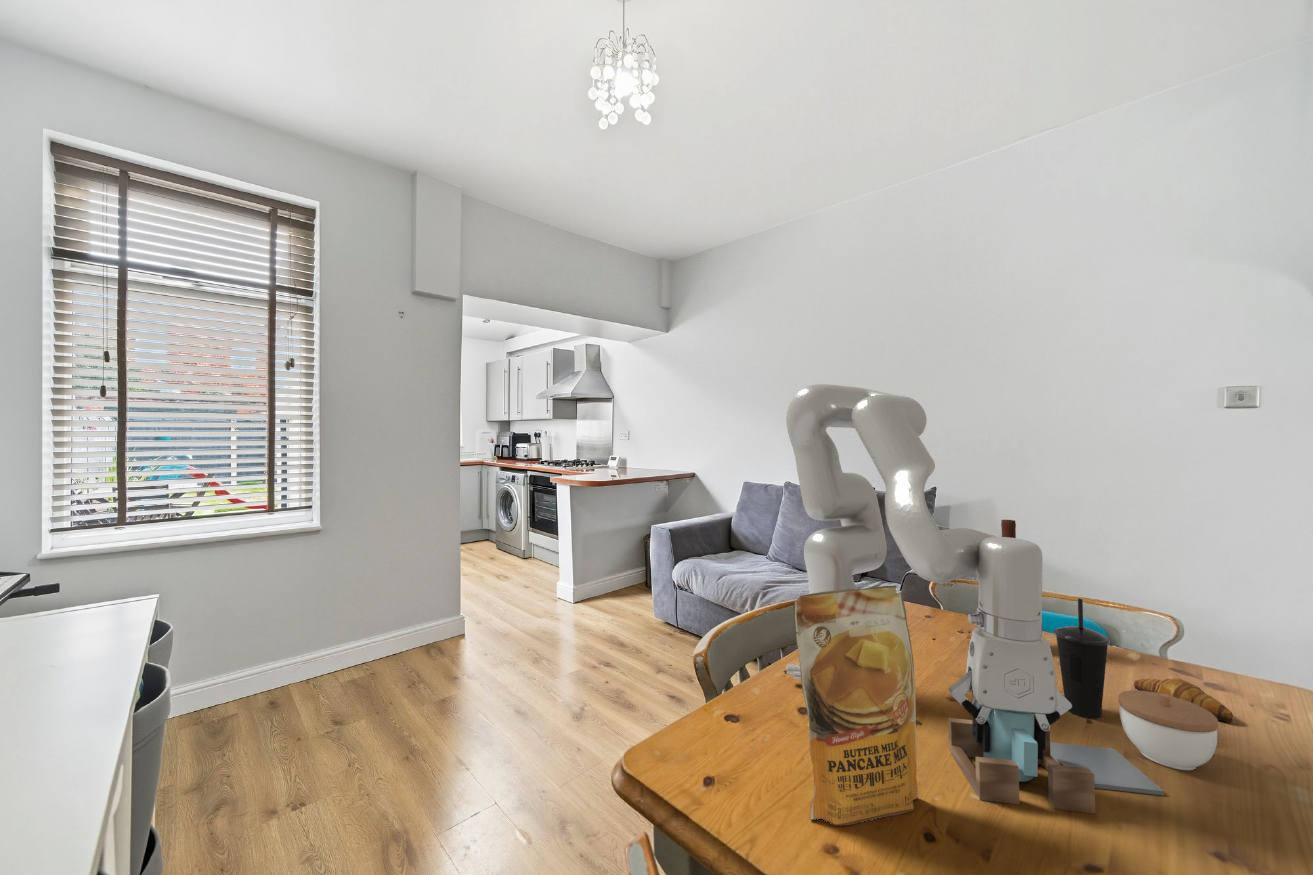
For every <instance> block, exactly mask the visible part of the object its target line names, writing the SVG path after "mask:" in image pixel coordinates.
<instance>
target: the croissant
mask: <svg viewBox="0 0 1313 875" xmlns="http://www.w3.org/2000/svg"><path fill="white" fill-rule="evenodd" d="M1133 687H1134V690H1137V691H1148V692H1154V693H1160V694H1165V695H1168V696H1172V697H1176V698H1179V699H1182V700H1185V701H1188V702H1191V703H1193V704H1195V705H1198V706H1200V707H1202V708H1204V709H1206V710H1208V711H1209V712H1211V713H1212V714H1213V715H1214V716H1215V717H1216V718H1217V719H1218V721H1224V722H1229V723H1231V722H1232V721H1233V718H1234V714H1233V712H1232V711H1231V710H1230V709H1229V708H1228V707H1226V706H1225V705H1224V704H1223V703H1221V702H1220V701H1218V700H1217V699H1215V698H1214V697H1212V696H1211V695H1209V694H1208V693H1206V692H1205V691H1204V690H1202V689H1201V688H1200V687H1199V686H1198V685H1195V684H1193V683H1191V682H1189V681H1187V680H1184V679H1182V678H1164V679H1158V678H1140V679H1136V680H1134V683H1133Z"/></svg>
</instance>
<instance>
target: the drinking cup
mask: <svg viewBox="0 0 1313 875" xmlns="http://www.w3.org/2000/svg"><path fill="white" fill-rule="evenodd" d="M1083 601H1084V600H1083V599H1082V598H1077V622H1078V626H1076V625H1070V626H1063V627H1057V628H1055V629H1054V630H1053V633H1054V635H1055V636H1056V643H1057V651H1058V652H1057V653H1058V659H1059V666H1060V674H1061V681H1062V689H1063V696H1064V697H1065V698H1066V699H1067V700H1068V701H1069V702H1070V703H1071V704H1072V708H1071V709H1069V710H1068V711H1067V712H1069V713H1071V714H1072V715H1074V716H1075V715H1076V716H1078V717H1081V718H1084V719H1090V720H1098V719H1101V717H1102V709H1103V698H1104V690H1105V688H1104V686H1105V676H1106V664H1107V655H1108V647H1109V646H1108V645H1110V642H1111V640H1110V638H1109V637H1107V636H1106V635H1103V634H1101V633H1100V632H1098V631H1096V630H1093V629H1090V628H1088V627H1084V607H1083V605H1084V604H1083V603H1084V602H1083Z"/></svg>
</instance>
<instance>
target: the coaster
mask: <svg viewBox="0 0 1313 875" xmlns="http://www.w3.org/2000/svg"><path fill="white" fill-rule="evenodd" d="M1050 755H1051V756H1052V757H1053V758H1054V759H1055V760H1056V761H1057V763H1058V764H1059V765H1060V766H1070V767H1080V768H1088V769H1089V770H1090V771H1092V772H1093V773H1094V783H1095V789H1103V790H1110V791H1119V792H1120V791H1121V792H1129V793H1137V794H1145V795H1146V794H1147V795H1156V796H1163V797H1165V790H1163V789H1162V788H1161V786H1159V785H1158V784H1156V783H1155V782H1154V781H1153V780H1151V779H1150V778H1149V777H1148V776H1147V775H1146V774H1145V773H1143V772H1142V771H1141V770H1140V769H1138V767H1136V766H1135V765H1134V764H1133V763H1131V762H1130V761H1129V760H1128V759H1127V758H1125V757H1124V756H1123V755H1122V754H1121V753H1120V752H1118V751H1117V750H1116V749H1115V748H1111V747H1103V746H1093V745H1092V746H1089V745H1081V744H1070V743H1069V744H1068V743H1061V742H1051V741H1050Z"/></svg>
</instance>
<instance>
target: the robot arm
mask: <svg viewBox="0 0 1313 875" xmlns="http://www.w3.org/2000/svg"><path fill="white" fill-rule="evenodd" d="M785 417H786V420H785V422H786V428H787V433H788V438H789V441H790V444H791V447H792V450H793V454H794V458H795V465H796V472H797V477H798V482H799V483H798V484H799V488H800V489H799V490H800V494H801V499H802V505H803V508H804V511H805V512H806V514H807V515H808V517H810V518H811V519H813V520H816V521H820V522H821V521H823V522H824V521H826V522H827V521H838V520H839V521H840V524H841V526H833V527H831V526H830V527H826V528H822V529H819V530H816V531H814V532H813V533H812V534H810V535H809V536H808V538H807V539H806V541H805V543H804V546H803V558H804V563H805V564H804V565H805V569H806V573H807V580H808V591H809V594H813V593H819V592H828V591H835V590H843V589H858V588H857V585H856V583H855V581H854V577H853V575H854V576H855V575H858V574H862V573H866V572H871V571H875V570H877V569H879V568H880V567H881V566H883V564H884V563H885V560H886V557H887V554H888V553H887V552H888V551H887V541H886V533H885V529H884V524H883V520H882V515H881V508H880V505H879V500H878V496H877V492H876V490H875V489H874V486H873V485H872V483H871V482H870V481H869V480H868V479H867V478H866V477H865V476H863V475H861V474H858V473H855V472H843V470H842V465H841V462H840V456H839V452H838V449H837V446H836V444H835V442H834V441H833V439H832V438H831V436H830V435H829V433H828V432H827V428H846V429H847V428H849V429H855V432H856V433H857V435H858V437H859V438H860V440H861V442H862V444H863V446H864V448H865V449H866V451H867V453H868V455H869V457H870V458H871V460H872V462H873V464H874V465H875V468H876V469H877V471H878V473H879V475H880V476H881V479H882V480H883V482H884V483H883V484H884V485H885V492H884V493H885V494H884V508H885V517H886V519H885V520H886V523H887V527H888V529H889V532H890V535H891V536H892V537H893V540H894V542H895V544H896V546H897V548H898V549H899V551H900V553H901V555H902V557H903V558H904V560H905V562H906V563H907V565H909V567H910V568H911V570H912V571H913V572H914V573H915V574H916V575H917V576H918V577H920V578H922V579H923V580H926V581H928V582H930V583H937V584H939V583H940V584H941V583H946V582H952V581H955V580H959V579H969V578H974V577H975V578H976V577H978V597H977V598H978V602H977V603H978V605H977V606H978V607H976V612H975V613H968V615H967V621H968V623H969V624H974V625H975V626H977V627H973V630H972V633H971V636H970V641H969V645H968V650H967V651H968V652H967V660H966V670H965V671H966V672H965V674H963V676H961V677H960V678H959V679H958V680H957V681H955V682H954V683H953V684H952V685H951V686H949V688H948V690H947V691H948V692H949V693H950V695H951V696H952V697H953V699H955V701H957V703H959V704H960V705H961V706H962V707H963V708H964V709H965V711H966V712H967V713H968V714H969V715H970V716H971V717H972V719H971V720H972V735H973V739H974V741H975V742H977V744H978V745H979V746H980V748H981V749H982V751H983V752H986V753H988V752H990V726H989V725H988V723H987V722H986V720H987V718H988V715H989V713H990V711H991V709H996V710H1005V711H1014V712H1024V713H1033V714H1034V740H1035V741H1036V742H1037V743H1038V759H1043V750H1045V731H1048V730H1049V731H1050V730H1051V725H1053V724H1054V723H1055V722H1056V721H1058V720H1059V719H1060V717H1061V716H1062V715H1064V714H1065V713H1067V712H1069V711H1068V710H1069V709H1071V708H1072V704H1071V703H1070V702H1069V701H1068V700H1067V699H1066V698H1065V697H1064V694H1062V693H1061V692H1060V690H1058V689H1057V679H1056V678H1057V677H1056V670H1055V665H1054V659H1053V654H1052V649H1051V648H1052V647H1051V645H1050V641H1049V640H1048V639H1046V638H1045V637H1044V636H1043V635H1042V634H1043V632H1042V630H1043V627H1042V626H1043V551H1042V549H1041V548H1040V546H1039V545H1038V544H1037V543H1035V542H1033V541H1030V540H1027V539H1023V538H1018V537H1016V538H1009V537H1002V536H997V535H992V534H989V533H986V532H983V531H980V530H976V529H973V528H966V527H957V528H949V529H948V528H947V529H940V528H939V525H937V523H936V521H935V519H934V517H933V516H932V514H931V512H930V510H929V508H928V504H927V502H926V499H925V498H926V497H925V487H926V483H927V481H928V480H929V478H930V476H931V475H932V474H933V473H934V471H935V469H936V463H935V460H934V459H933V457H932V455H931V454H930V453H929V451H928V449H927V448H926V446H925V445H924V443H923V441H922V440H921V438H920V436H921V435H922V434H923V433H924V431H925V430H926V426H927V422H928V420H927V413H926V412H925V410H924V408H923V406H922V405H921V404H920V403H919V402H918V401H916V400H915V399H913V398H911V397H909V396H905V395H899V394H898V395H897V394H892V393H887V392H884V391H883V392H882V391H877V390H873V389H868V388H863V387H857V386H848V385H847V386H846V385H837V384H827V383H826V384H825V383H820V384H819V383H817V384H811V385H807V386H805V387H803V388H800V389H799V390H798V391H797V392H796V393H795V394H794V396H792V398H791V400H790V402H789V404H788V407H787V411H786V416H785ZM786 675H791V676H792V675H793V679H794V680H801V672H800V664H799V665H798V664H797V665H796V664H794V663H786ZM967 692H969V693H971V694H973V699H972V700H969V698H968V697H966V695H965V694H966V693H967Z"/></svg>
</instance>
